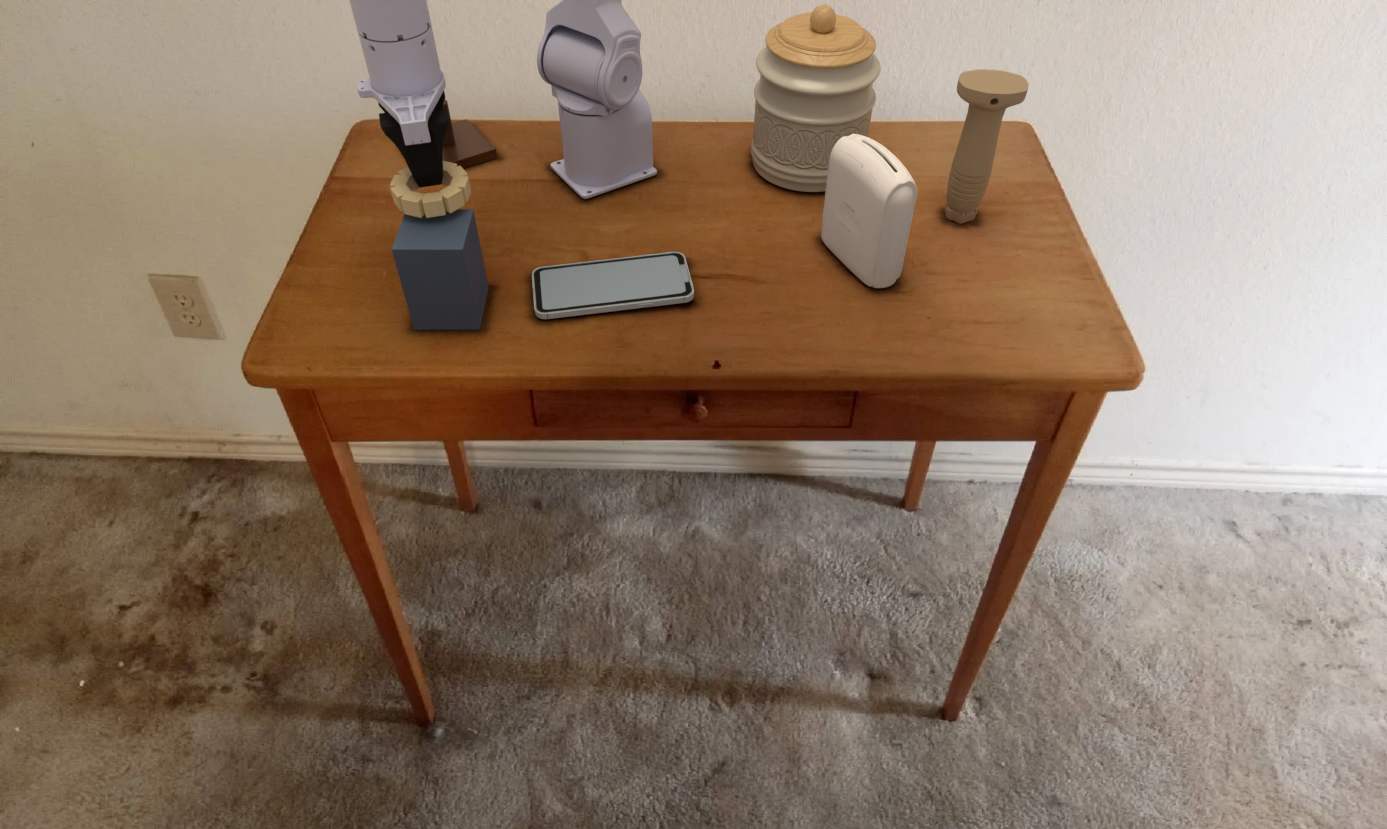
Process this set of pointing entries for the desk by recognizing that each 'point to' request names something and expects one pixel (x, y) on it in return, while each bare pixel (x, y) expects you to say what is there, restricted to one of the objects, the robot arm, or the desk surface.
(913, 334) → the desk surface
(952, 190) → the handle
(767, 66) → the jar
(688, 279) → the smartphone
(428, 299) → the block
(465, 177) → the bracelet
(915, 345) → the desk surface
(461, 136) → the stand
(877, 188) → the photo printer
